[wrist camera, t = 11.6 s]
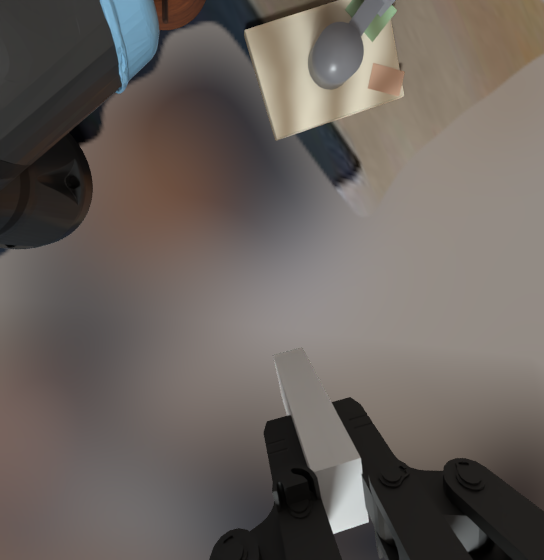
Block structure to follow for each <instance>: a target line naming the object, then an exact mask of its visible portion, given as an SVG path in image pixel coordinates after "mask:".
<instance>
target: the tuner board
mask: <svg viewBox="0 0 544 560" xmlns="http://www.w3.org/2000/svg"><path fill="white" fill-rule="evenodd" d="M363 2H364V0H338V1H334V2H331V3H328V4H325V5H322V6H319V7H315V8H312V9H309V10H306V11H303V12H300V13H297V14H293V15H290V16H287V17H284V18H281V19H278V20H274V21H271V22H268V23H265V24H262V25H259V26H256V27H252V28H249V29H246V30H245V32H244V37H245V40H246V44H247V47H248V50H249V54H250V57H251V60H252V64H253V67H254V70H255V74H256V77H257V81H258V84H259V87H260V90H261V94H262V97H263V101H264V104H265V107H266V111H267V114H268V117H269V120H270V124H271V127H272V131H273V134H274V137H275V140H279V139H282V138H285V137H288V136H291V135H294V134H297V133H300V132H303V131H306V130H309V129H312V128H315V127H317V126H320V125H323V124H326V123H329V122H332V121H335V120H338V119H341V118H344V117H347V116H350V115H353V114H356V113H359V112H362V111H365V110H368V109H370V108H373V107H376V106H379V105H382V104H385V103H388V102H391V101H394V100H397V99H399V98H401V97H403V96H404V92H403V87H402V82H403V78H404V73H405V72H404V71H401V70H400V69H399V63H398V58H397V52H396V46H395V40H394V34H393V29H392V23H391V18H392V17H393V15H394V14H395V13H396V11H397V10H396V9H395V8H394V7H393V5H391V6H390V7H389V8H388V9H387V11H386V12H385V13H384V14H383V15H382V16H381V17H380V16H379V15H378V14H377V15H376V16H375V18H374V19H373V20H372V22H371V23H370V25H369V26H368V27H367V29H366V30H365V32H364V33H363V34H362V36H361V38H362V41H363V46H364V55H363V60H362V63H361V65H360V67H359V69H358V70H357V71H356V72H355V73H354V74H353V75H352V76H351V77H350V78H349V79H348V80H347V81H346V82H345V83H344V84H343V85H341V86H340V87H338V88H336V89H332V90H328V89H323V88H321V87H319V86H318V85H317V84H316V83H315V82H314V81H313V79H312V78H311V76H310V73H309V70H308V58H309V54H310V51H311V49H312V48H313V46H314V44H315V43H316V41H317V39H318V38H319V36H320V34H321V33H322V31H323V30H324V29H325V28H326V27H327V26H328V25H330V24H332V23H335V22H346V23H349V22H350V20H351V19H352V17H353V16H354V15H355V13H356V12H357V10H358V9H359V7H360V6H361V5H362V3H363Z"/></svg>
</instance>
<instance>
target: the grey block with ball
mask: <svg viewBox="0 0 544 560" xmlns="http://www.w3.org/2000/svg"><path fill="white" fill-rule="evenodd" d="M394 1H395V0H364V2H363V3H362V5H361V6H360V7H359V9H358V10H357V12H356V13H355V15H354V16H353V17H352V19H351V20H350V22H349V23H346V22H335V23H332V24H330V25H328V26H327V27H326V28H325V29H324V30H323V31H322V33H321V34H320V36H319V38H318V39H317V41H316V43H315V44H314V46H313V48H312V49H311V51H310V54H309V58H308V70H309V73H310V76H311V78H312V79H313V81H314V82H315V83H316V84H317V85H318V86H319V87H321V88H323V89H328V90H332V89H336V88H338V87H340V86H341V85H343V84H344V83H345V82H346V81H347V80H348V79H349V78H350V77H351V76H352V75H353V74H354V73H355V72H356V71H357V70H358V69H359V67H360V65H361V63H362V60H363V55H364V46H363V41H362V38H361V36H362V34H363V33H364V32H365V30H366V29H367V27H368V26H369V25H370V23H371V22H372V20H373V19H374V18H375V16H376V15H377V14H378V15H379V16H380V17H381V16H382V15H383V14H384V13H385V12H386V11H387V9H388V8H389V7H390V6H391V5H392V4H393V3H394Z"/></svg>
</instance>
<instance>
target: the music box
mask: <svg viewBox="0 0 544 560" xmlns="http://www.w3.org/2000/svg"><path fill="white" fill-rule="evenodd" d="M153 1H154V4H155V8H156V12H157V16H158V22H159V30H172V29H176V28H179V27H182V26H184V25H186V24H187V23H189V22H190V21H192V20H193V19H194V18H195V17H196V16H197V14H198V13H199V12H200V10H201V9H202V7H203V5H204V3H205V1H206V0H153Z"/></svg>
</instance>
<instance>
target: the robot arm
mask: <svg viewBox="0 0 544 560" xmlns="http://www.w3.org/2000/svg"><path fill="white" fill-rule="evenodd" d="M158 38H159V22H158V16H157V12H156V8H155V4H154V1H153V0H0V248H7V249H30V248H36V247H41V246H44V245H48V244H51V243H54V242H57V241H59V240H61V239H63V238H65V237H66V236H68V235H70V234H71V233H72V232H73V231H75V229H77V228H78V227H79V225H80V224H81V223H82V221H83V220H84V218H85V217H86V215H87V213H88V210H89V207H90V204H91V200H92V192H93V185H92V176H91V171H90V168H89V165H88V162H87V160H86V157H85V155H84V153H83V151H82V149H81V148H80V146H79V144H78V143H77V142H76V140H75V139H74V138H73V136H72V135H71V134H70V133H69V132H70V131H71V130H72V129H73V128H74V127H76V126H77V125H78V124H79V123H80V122H81V121H82V120H84V119H85V118H86V117H87V116H88V115H89V114H91V113H92V112H93V111H94V110H95V109H96V108H98V107H99V106H100V105H101V104H102V103H103V102H104V101H106V100H107V99H108V98H109V97H110V96H111V95H113V94H114V93H115V92H116V93H122V92H123V91H124V90H125V88H126V86H127V84H128V81H129V80H130V79H131V78H132V77H133V76H134V75H135V74H136V73H137V72H138V71H139V70H140V69H142V68H143V67H144V66H145V65H146V64H147V63H148V62H149V61H150V60H151V59H152V58H153V56H154V54H155V53H156V50H157V46H158ZM273 358H274V362H275V367H276V372H277V377H278V381H279V386H280V391H281V395H282V400H283V403H284V406H285V410H286V413H287V416H285V417H281V418H278V419H274V420H270V421H267V423H266V426H265V430H264V437H265V443H266V448H267V454H268V458H269V464H270V469H271V474H272V480H273V488H272V491H273V492H272V493H273V496H274V500H275V501H274V506H273V509H272V511H271V512H270V514H269V515H268V517H267V518H266V519H265V520H264V521H263V522H262V523H261V524H259V525H258V526H257V527H255V528H254V529H252V530H251V531H250V532H249V531H248V530H245V529H239V528H238V529H234V530H230V531H229V532H227V533H226V534H224V535H223V536H221V538H220V539H219V540H218V541H217V543H216V544H215V546H214V548H213V550H212V553H211V556H210V560H342V558H341V556H340V553H339V550H338V547H337V544H336V541H335V538H334V535H333V534H334V533H337V532H340V531H343V530H346V529H349V528H352V527H355V526H358V525H361V524H364V523H367V522H369V520H368V514H369V516H370V518H371V520H372V522H373V524H374V527H375V535H376V544H377V551H378V555H379V559H381V558H383V556H384V558H385V560H544V511H542V510H541V509H539V507H537V506H536V505H535V504H533V503H532V502H531V501H529V500H528V499H527V498H525V497H524V496H523V495H521V494H520V493H519V492H517V491H516V490H515V489H513V488H512V487H511V486H510V485H508V484H507V483H506V482H504V481H503V480H502V479H500V478H499V477H498V476H496V475H495V474H493V473H492V472H491V471H490V470H488V469H487V468H486V467H484V466H483V465H481V464H479V463H477V462H476V461H472V460H469V459H466V458H456V459H453V460H450V461H448V462H447V463H446V465H445V466H444V470H443V471H424V470H417V469H414V468H410V467H408V466H407V465H406V464H405V463H403V462H401V461H400V460H398V459H397V458H396V457H395V455H394V454H393V453H392V451H391V450H390V448H389V447H388V445H387V444H386V442H385V441H384V439H383V438H382V436H381V434H380V433H379V432H378V430H377V429H376V427H375V425H374V424H373V423H372V421H371V419H370V418H369V416H367V413H366V412H365V411H364V409H363V407H362V406H361V404H359V403H358V402H356V401H355V400H354V399H352V398H351V397H349V398H346V399H342V400H338V401H335V402H331V401H330V399H329V397H328V395H327V393H326V391H325V389H324V387H323V386H322V384H321V382H320V380H319V378H318V376H317V374H316V372H315V371H314V369H313V367H312V365H311V363H310V361H309V359H308V357H307V355H306V353H305V352H304V350H303V348H298V349H294V350H291V351H286V352H283V353H279V354H275V355H273ZM382 553H383V554H382Z"/></svg>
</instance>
